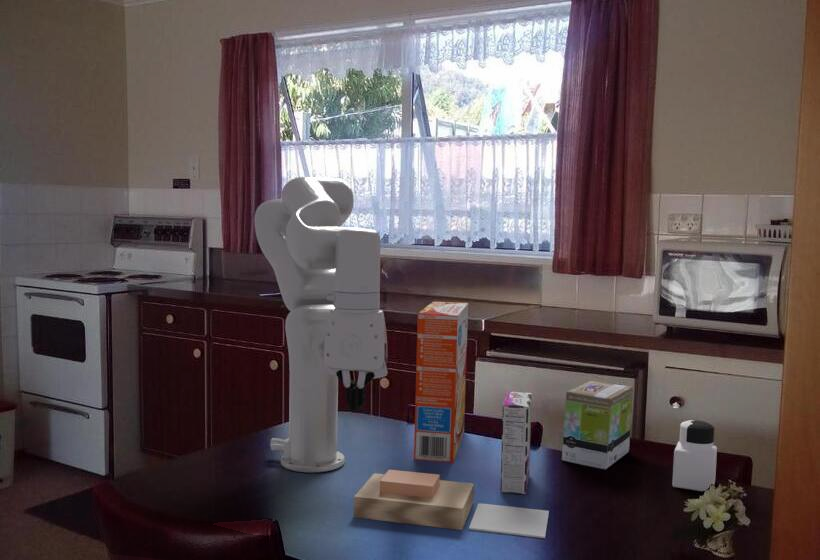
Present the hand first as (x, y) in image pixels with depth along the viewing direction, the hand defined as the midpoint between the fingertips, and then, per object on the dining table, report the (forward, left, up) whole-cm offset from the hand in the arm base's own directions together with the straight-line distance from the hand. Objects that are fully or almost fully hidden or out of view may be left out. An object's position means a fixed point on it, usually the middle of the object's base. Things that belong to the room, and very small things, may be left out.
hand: (355, 409), depth 132 cm
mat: (+27, 0, -17) cm, 31 cm away
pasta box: (+8, +38, -17) cm, 42 cm away
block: (+10, 0, -13) cm, 16 cm away
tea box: (+41, +40, -17) cm, 60 cm away
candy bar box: (+26, +18, -17) cm, 36 cm away
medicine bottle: (+59, +28, -17) cm, 67 cm away
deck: (+11, 0, -17) cm, 20 cm away
